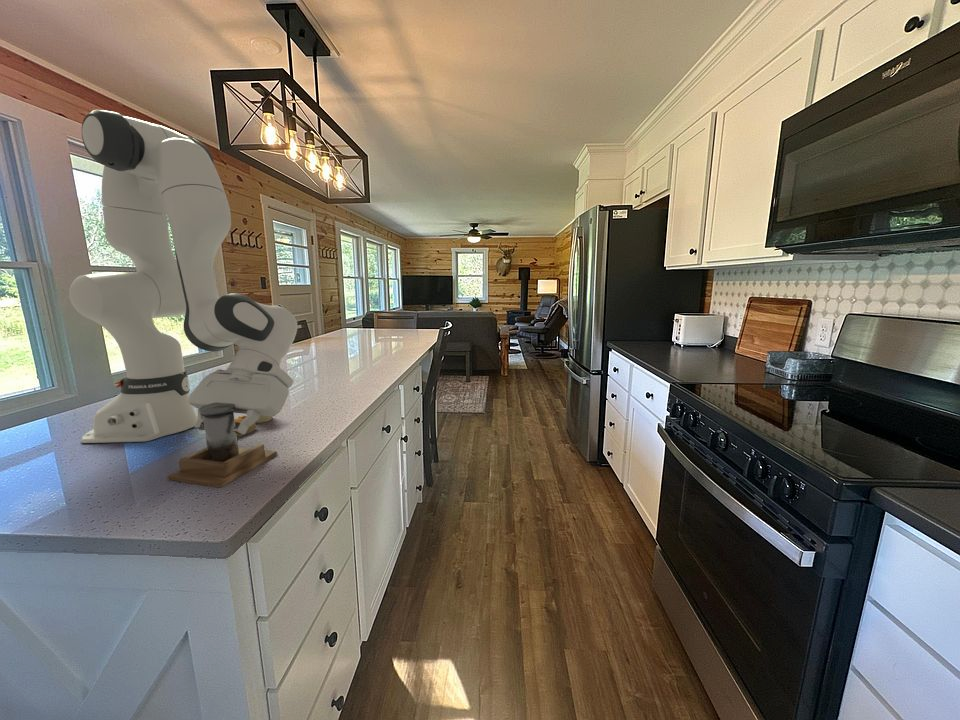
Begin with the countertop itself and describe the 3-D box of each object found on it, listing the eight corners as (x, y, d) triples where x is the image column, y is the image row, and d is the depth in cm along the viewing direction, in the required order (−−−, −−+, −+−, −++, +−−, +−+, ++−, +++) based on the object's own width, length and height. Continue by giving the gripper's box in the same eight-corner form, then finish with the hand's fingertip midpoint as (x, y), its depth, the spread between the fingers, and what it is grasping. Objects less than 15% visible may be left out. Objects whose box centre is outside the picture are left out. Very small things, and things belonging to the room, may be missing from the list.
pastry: (227, 444, 88) (224, 429, 87) (204, 441, 90) (201, 426, 89) (259, 429, 97) (257, 415, 96) (238, 427, 99) (236, 413, 98)
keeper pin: (202, 471, 73) (193, 412, 71) (214, 458, 79) (206, 402, 76) (236, 467, 75) (228, 409, 72) (246, 454, 80) (238, 400, 78)
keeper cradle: (220, 487, 69) (218, 470, 68) (168, 480, 72) (165, 463, 71) (277, 454, 82) (275, 440, 82) (231, 449, 85) (229, 435, 84)
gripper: (202, 361, 82) (163, 419, 74) (283, 366, 77) (250, 428, 70) (223, 376, 87) (188, 432, 80) (300, 381, 82) (271, 441, 75)
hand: (218, 431), depth 75 cm, fingers open, 8 cm apart
